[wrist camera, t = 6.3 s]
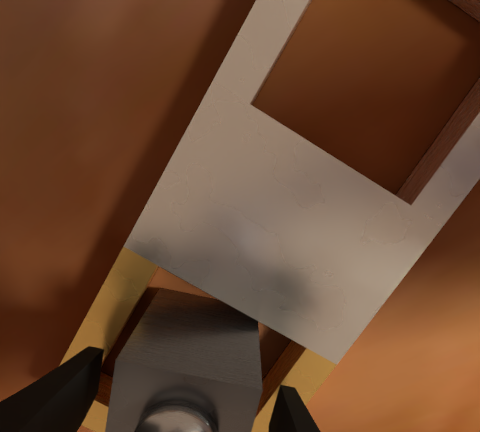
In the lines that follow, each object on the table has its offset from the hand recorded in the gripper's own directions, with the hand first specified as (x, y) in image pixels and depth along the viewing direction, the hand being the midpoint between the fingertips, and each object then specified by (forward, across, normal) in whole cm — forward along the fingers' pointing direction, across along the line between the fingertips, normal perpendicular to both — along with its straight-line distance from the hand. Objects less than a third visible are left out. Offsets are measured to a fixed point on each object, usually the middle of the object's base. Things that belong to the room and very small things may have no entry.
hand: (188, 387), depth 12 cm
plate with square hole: (+2, -2, -7) cm, 7 cm away
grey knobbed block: (+2, 0, 0) cm, 3 cm away
